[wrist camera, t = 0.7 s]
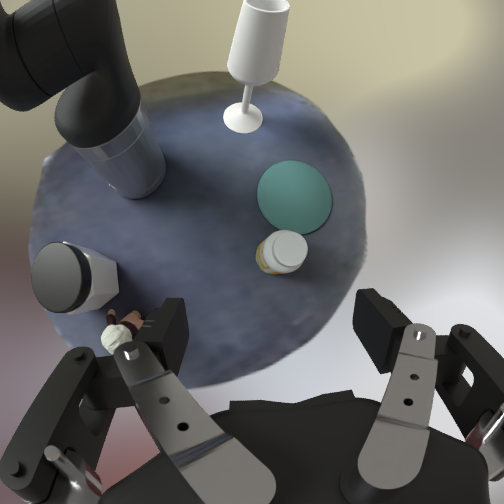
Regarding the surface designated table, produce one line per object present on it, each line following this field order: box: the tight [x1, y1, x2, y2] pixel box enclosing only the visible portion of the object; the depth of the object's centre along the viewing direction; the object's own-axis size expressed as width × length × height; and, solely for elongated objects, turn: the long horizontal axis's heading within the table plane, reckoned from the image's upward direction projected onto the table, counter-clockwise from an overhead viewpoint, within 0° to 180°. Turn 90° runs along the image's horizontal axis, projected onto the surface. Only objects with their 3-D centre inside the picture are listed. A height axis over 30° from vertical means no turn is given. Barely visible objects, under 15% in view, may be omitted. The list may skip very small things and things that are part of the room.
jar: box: [31, 242, 119, 315], centre depth 30 cm, size 9×8×12 cm
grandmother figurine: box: [101, 309, 145, 354], centre depth 30 cm, size 8×4×13 cm, turn 67°
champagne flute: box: [223, 0, 290, 133], centre depth 30 cm, size 7×7×24 cm
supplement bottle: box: [256, 230, 308, 274], centre depth 35 cm, size 5×5×10 cm
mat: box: [257, 160, 332, 234], centre depth 41 cm, size 12×12×1 cm
